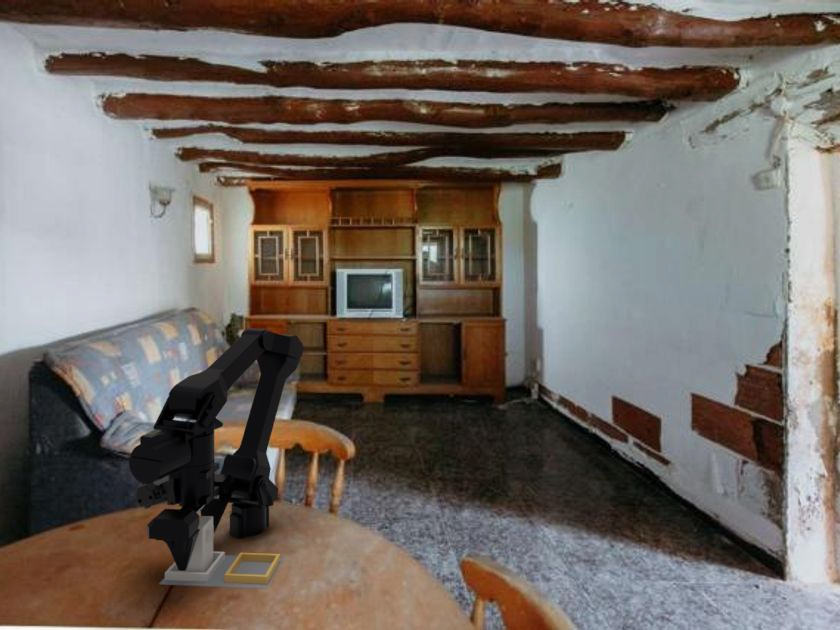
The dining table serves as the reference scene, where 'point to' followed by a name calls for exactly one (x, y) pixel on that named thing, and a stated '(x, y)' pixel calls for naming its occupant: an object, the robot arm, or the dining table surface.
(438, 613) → the dining table surface
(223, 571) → the socket panel
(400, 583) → the dining table surface
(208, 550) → the plug
